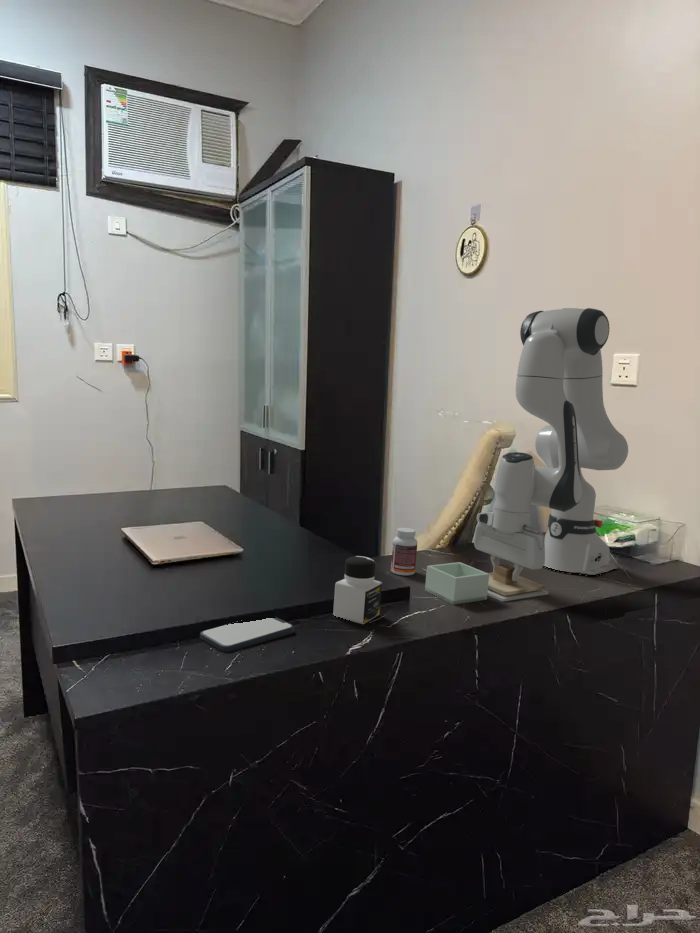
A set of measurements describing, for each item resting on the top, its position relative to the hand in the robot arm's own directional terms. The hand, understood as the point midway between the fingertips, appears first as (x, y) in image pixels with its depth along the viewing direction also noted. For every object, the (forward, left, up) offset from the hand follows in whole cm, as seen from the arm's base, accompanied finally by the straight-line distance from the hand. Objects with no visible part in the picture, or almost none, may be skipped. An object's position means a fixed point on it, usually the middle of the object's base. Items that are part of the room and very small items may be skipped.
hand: (505, 577), depth 163 cm
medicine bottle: (+44, +3, -3) cm, 45 cm away
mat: (0, 0, -3) cm, 3 cm away
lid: (0, 0, -2) cm, 2 cm away
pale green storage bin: (+15, 0, -3) cm, 16 cm away
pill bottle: (+16, -19, -3) cm, 25 cm away
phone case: (+69, +4, -3) cm, 69 cm away
